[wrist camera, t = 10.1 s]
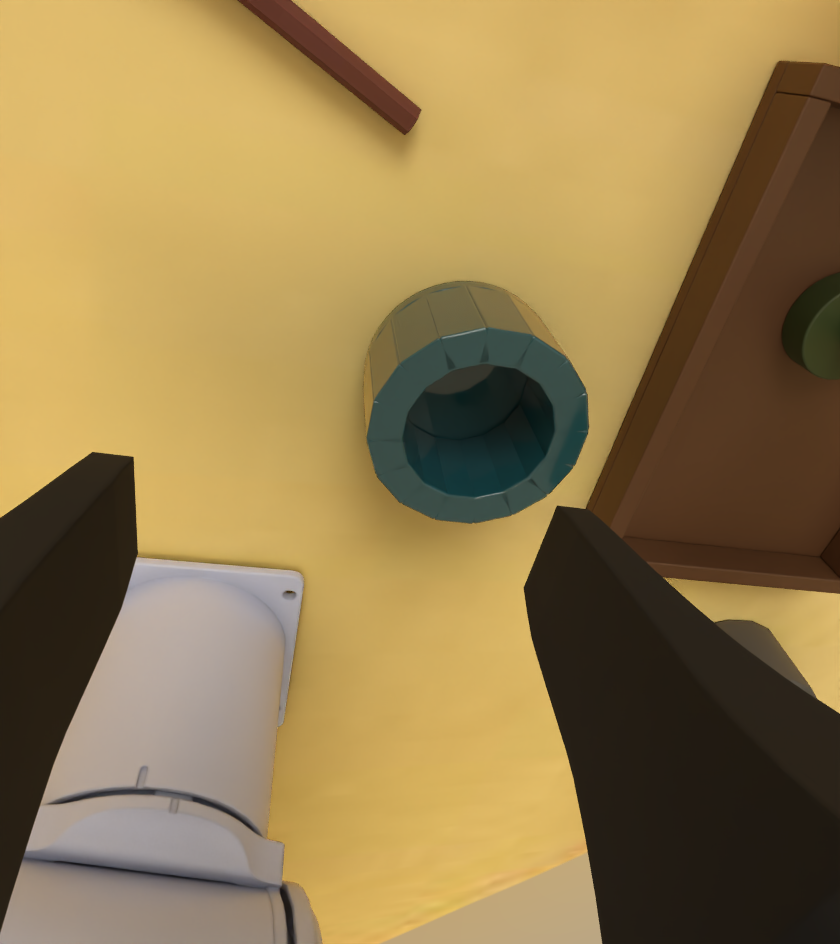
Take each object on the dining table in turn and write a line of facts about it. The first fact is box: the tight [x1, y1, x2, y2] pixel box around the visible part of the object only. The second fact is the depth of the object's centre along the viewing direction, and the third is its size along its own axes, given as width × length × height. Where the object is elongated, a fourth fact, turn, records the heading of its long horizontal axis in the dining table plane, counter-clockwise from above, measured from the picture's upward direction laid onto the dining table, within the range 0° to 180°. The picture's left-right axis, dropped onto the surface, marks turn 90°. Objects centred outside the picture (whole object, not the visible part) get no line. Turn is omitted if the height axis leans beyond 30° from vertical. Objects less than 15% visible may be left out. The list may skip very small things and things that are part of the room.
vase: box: [363, 281, 589, 524], centre depth 20 cm, size 6×6×4 cm
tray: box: [587, 61, 840, 594], centre depth 22 cm, size 16×11×2 cm
